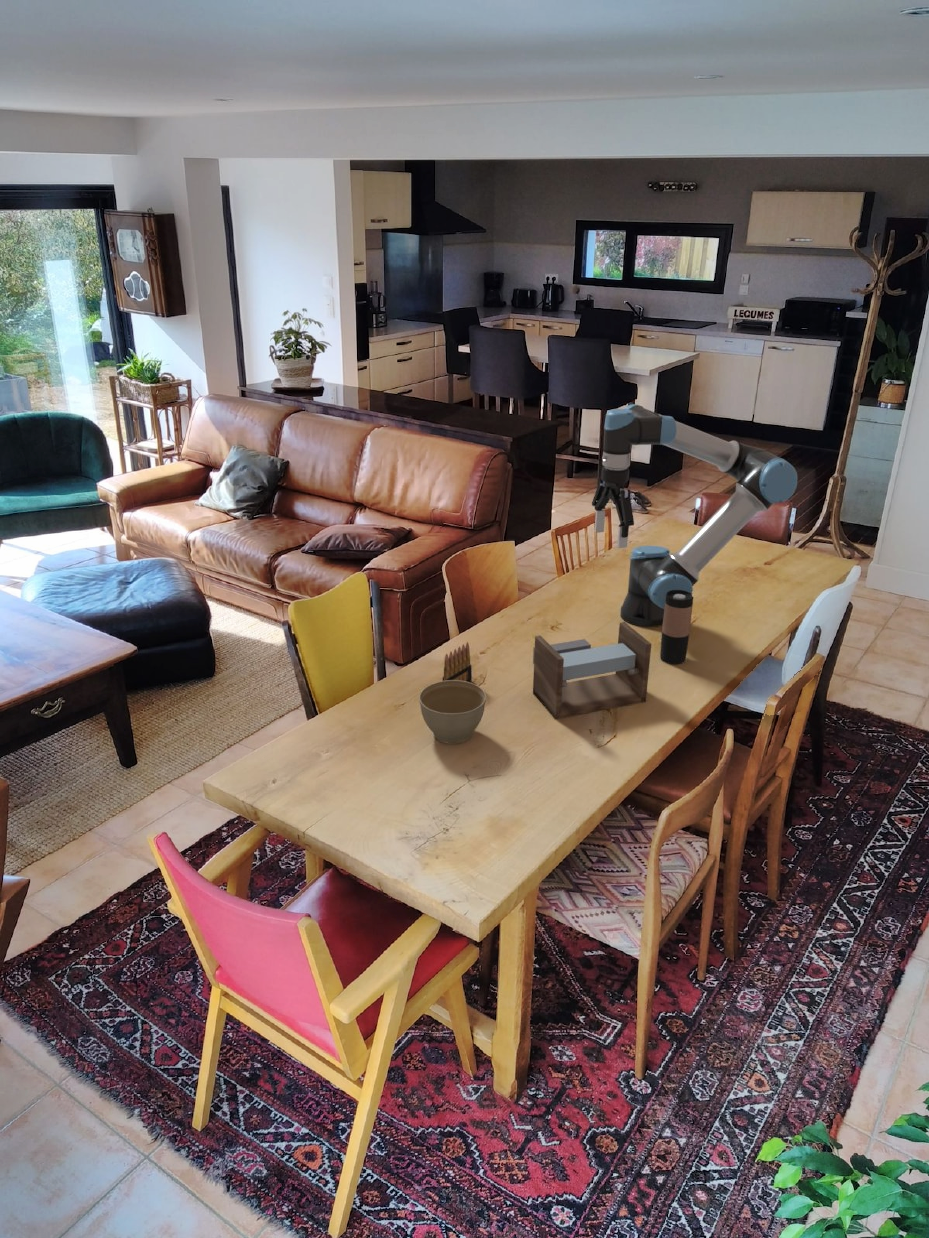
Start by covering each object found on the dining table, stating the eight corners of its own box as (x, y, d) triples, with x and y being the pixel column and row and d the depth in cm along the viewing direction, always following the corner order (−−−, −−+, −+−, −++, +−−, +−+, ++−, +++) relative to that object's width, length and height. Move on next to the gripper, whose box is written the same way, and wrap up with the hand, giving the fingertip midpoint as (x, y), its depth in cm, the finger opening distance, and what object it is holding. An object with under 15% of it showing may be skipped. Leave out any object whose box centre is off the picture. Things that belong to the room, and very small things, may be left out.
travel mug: (654, 659, 262) (660, 595, 254) (668, 650, 267) (675, 587, 259) (677, 667, 257) (684, 602, 249) (691, 658, 262) (699, 594, 254)
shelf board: (621, 656, 244) (622, 643, 243) (634, 668, 238) (635, 654, 237) (546, 669, 238) (547, 655, 236) (558, 681, 232) (558, 667, 230)
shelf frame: (619, 677, 252) (624, 621, 245) (645, 701, 240) (651, 643, 233) (532, 693, 244) (535, 636, 236) (555, 719, 232) (558, 659, 224)
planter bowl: (410, 725, 229) (409, 687, 224) (469, 712, 235) (469, 675, 230) (434, 758, 215) (433, 718, 211) (496, 743, 221) (496, 704, 217)
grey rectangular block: (583, 654, 264) (584, 639, 262) (589, 660, 261) (590, 644, 259) (532, 663, 259) (533, 647, 257) (538, 669, 256) (539, 653, 254)
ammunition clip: (466, 679, 251) (466, 639, 246) (472, 681, 250) (472, 641, 245) (442, 694, 243) (441, 654, 238) (447, 696, 242) (447, 656, 237)
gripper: (582, 457, 261) (578, 527, 270) (626, 480, 239) (620, 555, 248) (606, 454, 263) (601, 524, 272) (651, 477, 242) (644, 552, 251)
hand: (610, 539), depth 260 cm, fingers open, 13 cm apart
